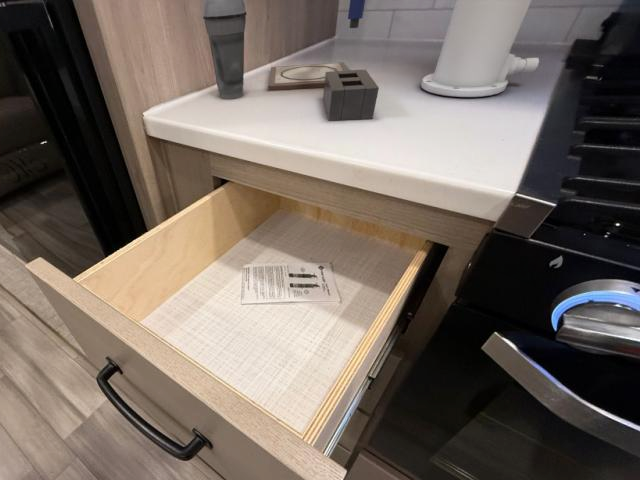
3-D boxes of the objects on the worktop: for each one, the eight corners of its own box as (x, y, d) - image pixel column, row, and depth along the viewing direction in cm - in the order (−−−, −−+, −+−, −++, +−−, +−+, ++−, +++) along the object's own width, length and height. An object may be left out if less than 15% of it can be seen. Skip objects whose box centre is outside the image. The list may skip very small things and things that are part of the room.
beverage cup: (246, 100, 58) (237, -65, 44) (208, 101, 60) (187, -59, 45) (253, 89, 63) (247, -63, 49) (217, 90, 65) (202, -57, 50)
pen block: (360, 97, 55) (365, 69, 52) (372, 119, 48) (379, 87, 45) (322, 99, 56) (325, 71, 53) (328, 120, 48) (331, 90, 45)
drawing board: (343, 66, 71) (344, 61, 70) (353, 85, 60) (354, 79, 59) (271, 71, 73) (271, 66, 72) (268, 90, 62) (268, 84, 61)
